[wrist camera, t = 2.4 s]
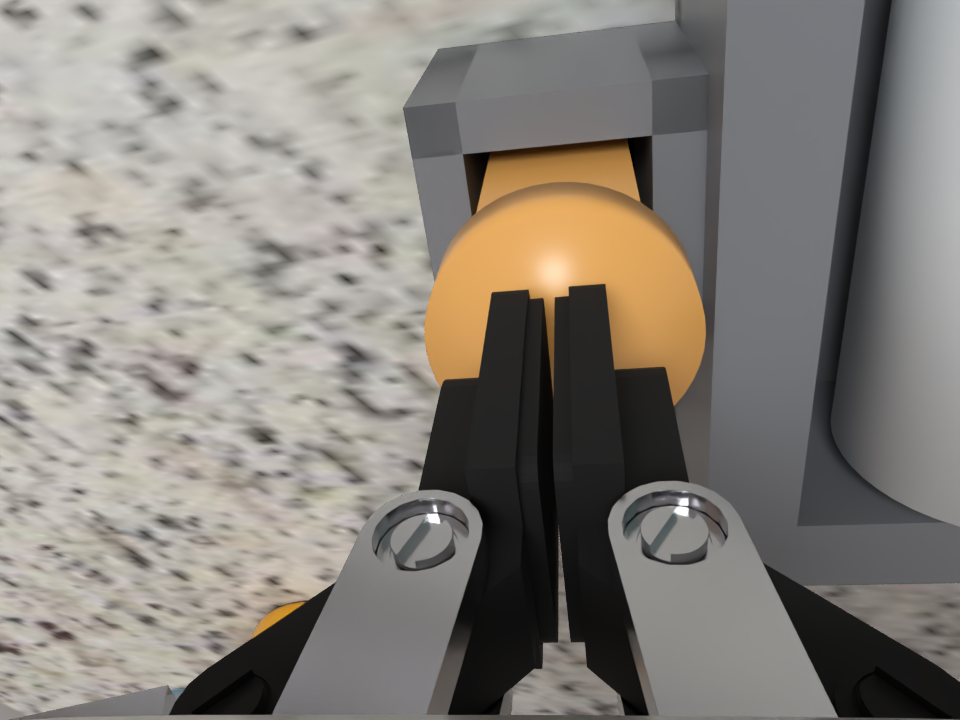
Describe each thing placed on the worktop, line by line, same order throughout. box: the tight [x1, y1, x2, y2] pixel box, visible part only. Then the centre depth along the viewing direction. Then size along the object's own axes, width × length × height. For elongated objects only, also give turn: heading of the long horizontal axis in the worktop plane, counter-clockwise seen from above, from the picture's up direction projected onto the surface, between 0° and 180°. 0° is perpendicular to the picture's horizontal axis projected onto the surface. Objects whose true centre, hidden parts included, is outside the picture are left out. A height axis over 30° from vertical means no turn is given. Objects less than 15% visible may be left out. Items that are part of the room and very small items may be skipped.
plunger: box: [425, 138, 706, 406], centre depth 15 cm, size 4×4×7 cm
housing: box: [403, 0, 960, 586], centre depth 16 cm, size 19×18×6 cm
